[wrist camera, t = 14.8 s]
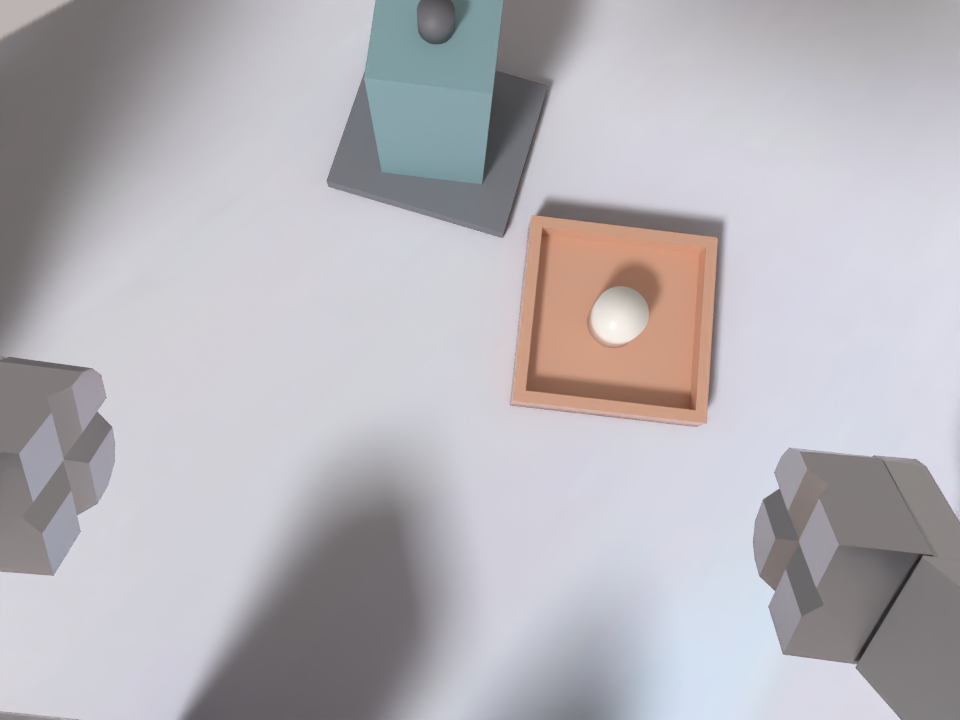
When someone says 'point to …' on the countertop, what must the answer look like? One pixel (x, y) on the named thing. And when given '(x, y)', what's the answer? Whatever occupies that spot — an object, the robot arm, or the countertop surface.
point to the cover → (433, 85)
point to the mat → (444, 198)
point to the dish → (655, 352)
